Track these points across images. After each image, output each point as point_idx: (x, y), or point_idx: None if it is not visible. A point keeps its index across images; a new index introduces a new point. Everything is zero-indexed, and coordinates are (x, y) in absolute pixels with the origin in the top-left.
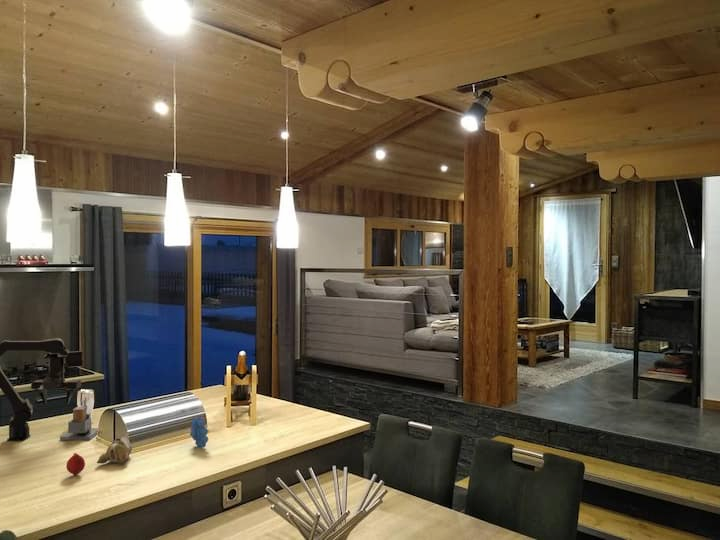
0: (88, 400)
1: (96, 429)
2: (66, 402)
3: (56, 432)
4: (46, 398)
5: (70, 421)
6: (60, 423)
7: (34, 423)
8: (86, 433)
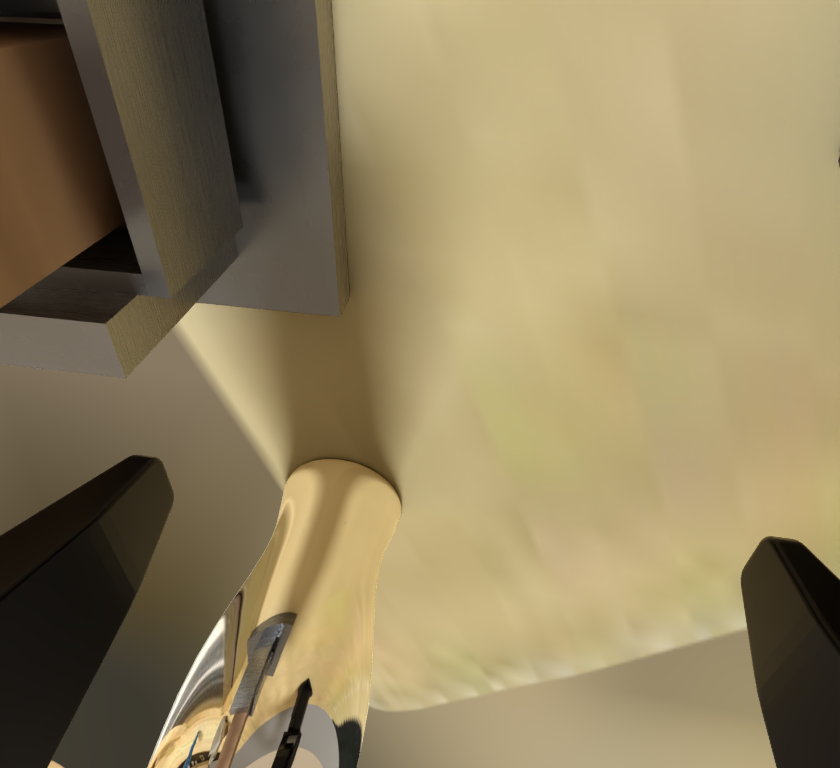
0: (188, 697)
1: None
2: (115, 491)
3: (517, 290)
4: (791, 764)
5: (73, 32)
6: (565, 537)
7: None
8: None
